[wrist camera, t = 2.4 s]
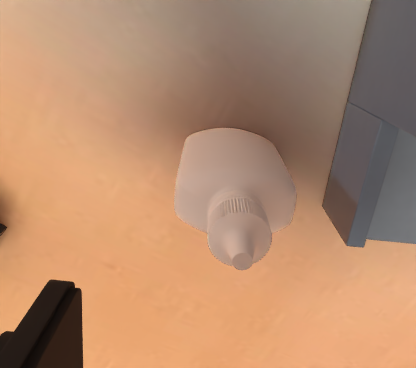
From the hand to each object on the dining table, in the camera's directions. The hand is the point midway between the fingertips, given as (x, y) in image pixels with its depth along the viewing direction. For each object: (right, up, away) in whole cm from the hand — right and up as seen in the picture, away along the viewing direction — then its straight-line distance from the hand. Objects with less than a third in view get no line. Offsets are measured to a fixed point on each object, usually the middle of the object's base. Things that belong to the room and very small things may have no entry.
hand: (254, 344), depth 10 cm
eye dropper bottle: (0, +6, +14) cm, 16 cm away
